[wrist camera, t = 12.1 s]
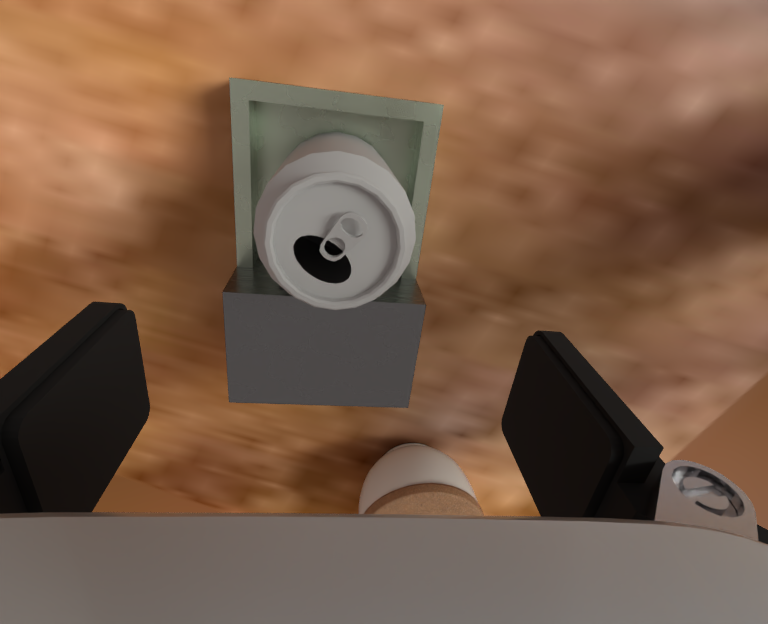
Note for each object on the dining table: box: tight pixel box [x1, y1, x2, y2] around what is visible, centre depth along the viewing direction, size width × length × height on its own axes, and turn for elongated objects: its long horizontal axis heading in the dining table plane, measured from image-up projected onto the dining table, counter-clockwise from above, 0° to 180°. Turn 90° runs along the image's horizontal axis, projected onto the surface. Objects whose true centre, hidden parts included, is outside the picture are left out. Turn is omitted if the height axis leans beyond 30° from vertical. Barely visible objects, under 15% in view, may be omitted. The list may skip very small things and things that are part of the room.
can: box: [253, 132, 416, 310], centre depth 24 cm, size 8×8×12 cm
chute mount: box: [223, 78, 444, 408], centre depth 28 cm, size 12×19×7 cm, turn 173°
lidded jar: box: [359, 443, 484, 516], centre depth 38 cm, size 11×11×9 cm
